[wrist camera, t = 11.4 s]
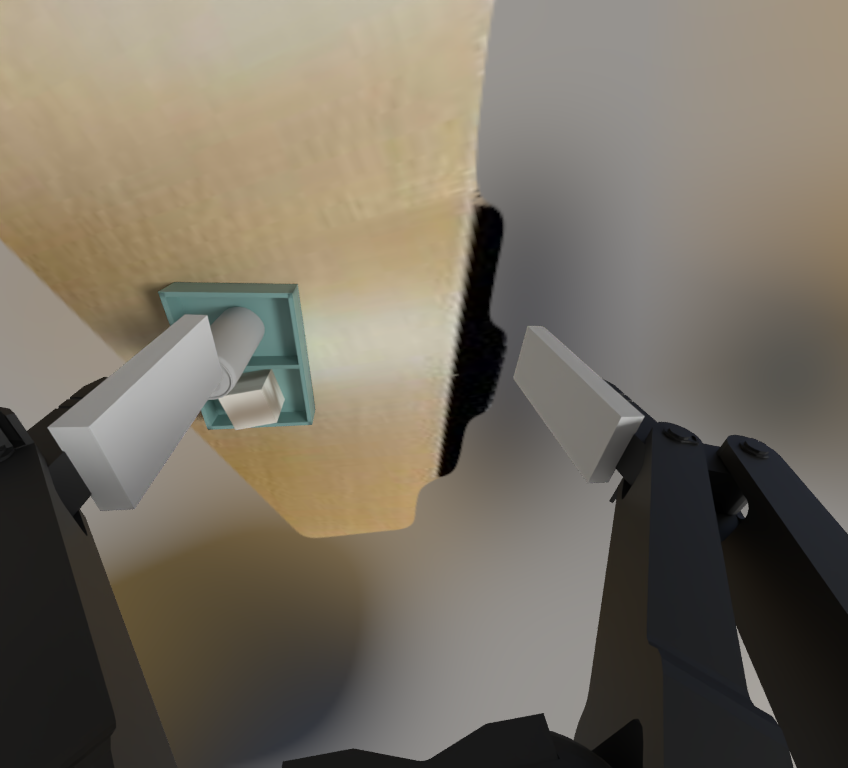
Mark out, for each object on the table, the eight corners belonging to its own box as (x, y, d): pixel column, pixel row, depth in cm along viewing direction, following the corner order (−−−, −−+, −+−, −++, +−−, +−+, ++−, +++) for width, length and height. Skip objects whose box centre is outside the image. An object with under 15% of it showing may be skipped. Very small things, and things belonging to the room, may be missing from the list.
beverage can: (232, 346, 41) (190, 405, 31) (213, 308, 38) (160, 360, 28) (272, 339, 41) (243, 395, 31) (256, 301, 38) (218, 350, 28)
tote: (174, 282, 37) (157, 291, 34) (297, 284, 39) (292, 293, 36) (217, 413, 47) (207, 429, 44) (315, 409, 49) (312, 424, 46)
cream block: (231, 375, 43) (217, 397, 39) (271, 368, 43) (261, 389, 39) (247, 406, 46) (235, 430, 41) (284, 399, 46) (276, 422, 42)
